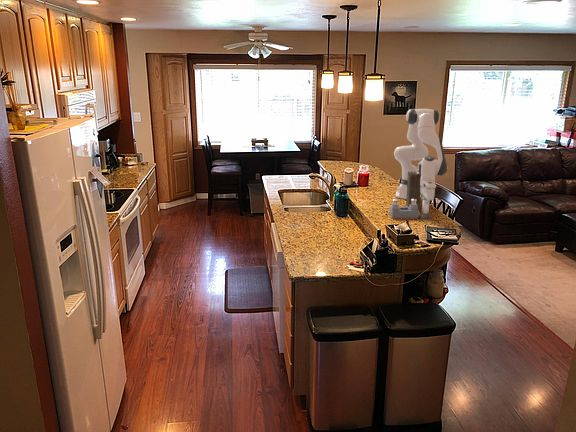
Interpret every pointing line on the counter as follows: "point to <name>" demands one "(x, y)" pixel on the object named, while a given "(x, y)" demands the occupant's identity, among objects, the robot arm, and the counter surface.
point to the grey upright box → (413, 188)
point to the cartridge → (425, 206)
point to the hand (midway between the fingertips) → (426, 203)
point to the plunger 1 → (395, 202)
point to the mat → (425, 217)
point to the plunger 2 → (413, 202)
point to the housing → (404, 212)
